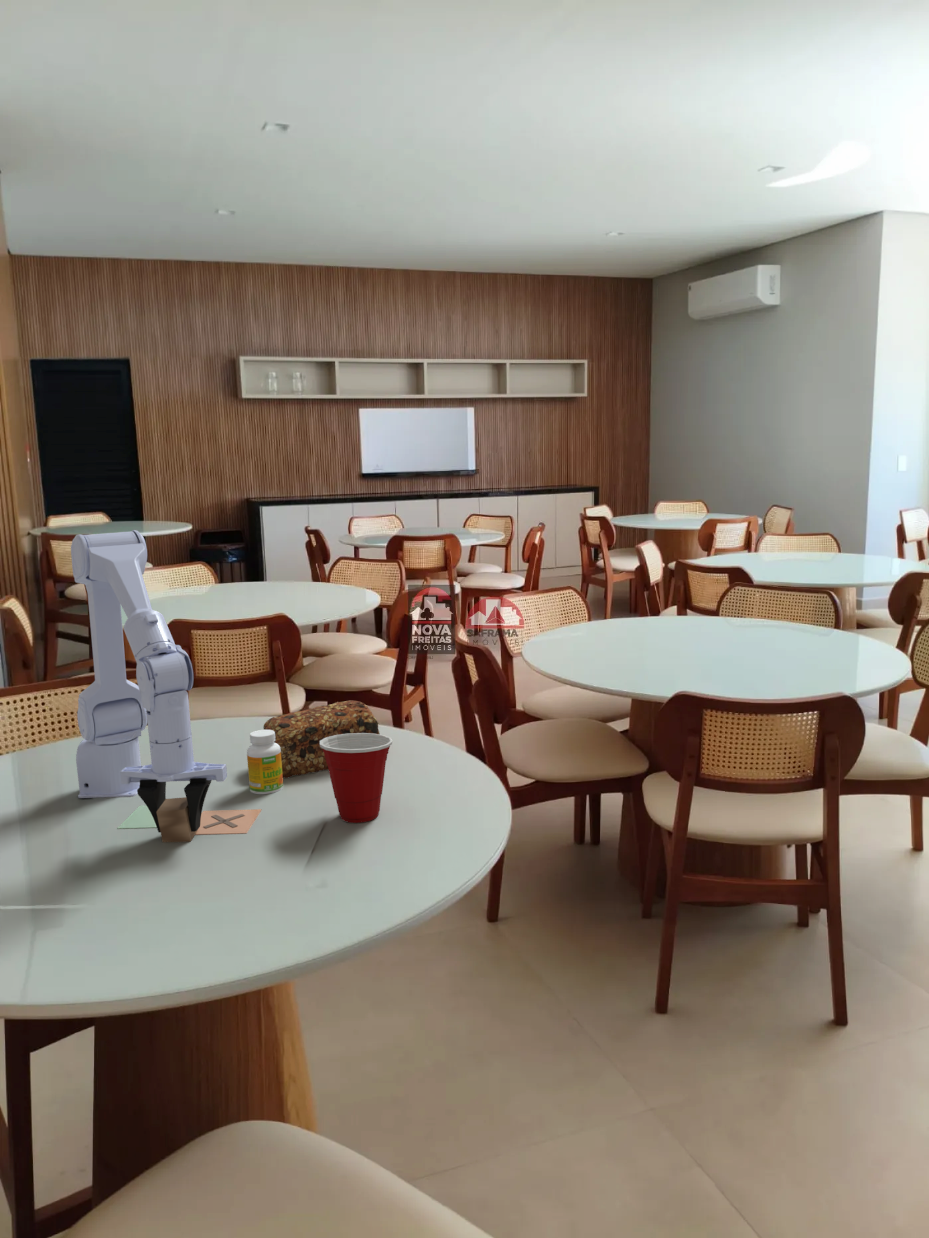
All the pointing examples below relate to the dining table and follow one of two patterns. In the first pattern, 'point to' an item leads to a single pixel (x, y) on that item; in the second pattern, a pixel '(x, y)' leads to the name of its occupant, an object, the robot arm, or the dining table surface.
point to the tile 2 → (227, 821)
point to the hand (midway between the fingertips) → (179, 829)
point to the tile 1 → (139, 819)
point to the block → (175, 821)
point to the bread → (316, 733)
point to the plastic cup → (357, 773)
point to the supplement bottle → (264, 763)
